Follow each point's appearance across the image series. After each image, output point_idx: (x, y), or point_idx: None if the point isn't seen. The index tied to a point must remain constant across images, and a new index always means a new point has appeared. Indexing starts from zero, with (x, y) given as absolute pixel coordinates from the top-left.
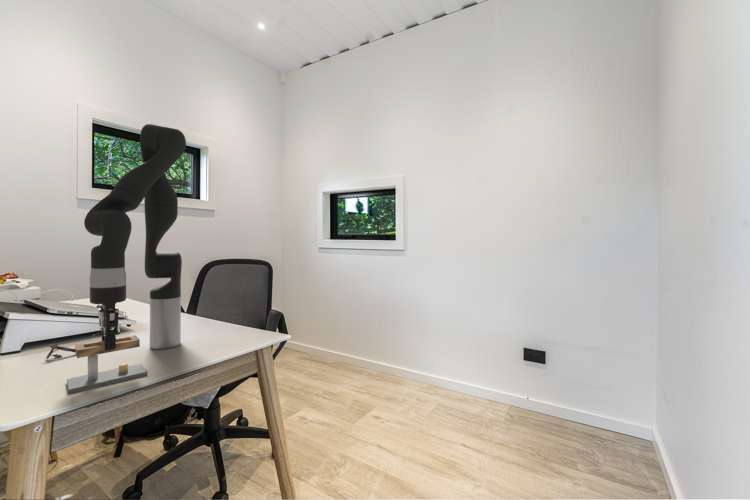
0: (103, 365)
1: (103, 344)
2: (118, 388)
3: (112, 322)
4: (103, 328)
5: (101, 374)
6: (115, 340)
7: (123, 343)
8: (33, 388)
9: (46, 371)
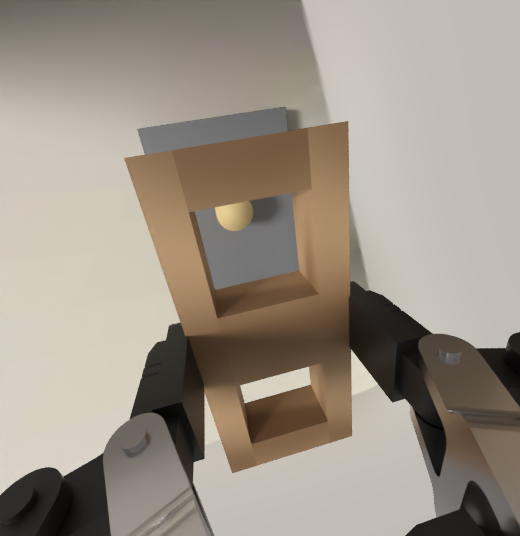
0: (47, 288)
1: (320, 357)
2: (351, 211)
3: None
4: (194, 487)
5: (218, 278)
6: (385, 309)
7: (346, 246)
8: (207, 408)
9: (54, 430)
